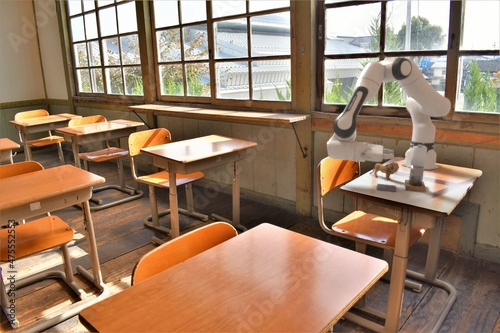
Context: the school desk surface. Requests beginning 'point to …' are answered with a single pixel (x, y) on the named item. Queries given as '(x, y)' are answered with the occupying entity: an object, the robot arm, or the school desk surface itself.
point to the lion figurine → (386, 169)
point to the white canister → (418, 156)
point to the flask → (416, 176)
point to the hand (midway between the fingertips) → (393, 154)
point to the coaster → (386, 187)
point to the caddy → (414, 187)
